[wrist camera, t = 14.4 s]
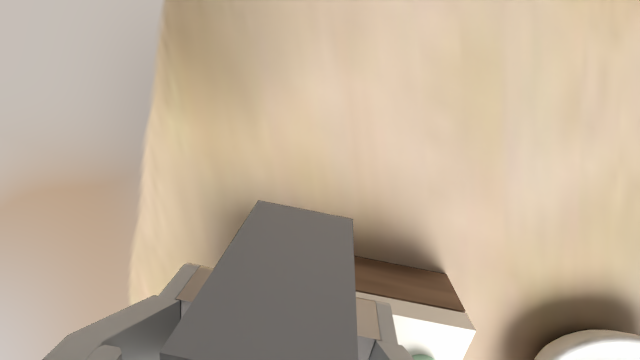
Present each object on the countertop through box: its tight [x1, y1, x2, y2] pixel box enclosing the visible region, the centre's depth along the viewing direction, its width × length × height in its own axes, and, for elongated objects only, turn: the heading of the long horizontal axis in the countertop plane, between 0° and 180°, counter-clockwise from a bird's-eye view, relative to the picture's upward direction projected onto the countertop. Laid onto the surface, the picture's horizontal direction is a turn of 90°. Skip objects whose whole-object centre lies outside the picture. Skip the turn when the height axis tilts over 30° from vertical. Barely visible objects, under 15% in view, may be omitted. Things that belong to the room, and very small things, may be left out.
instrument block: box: [159, 200, 358, 360], centre depth 9 cm, size 4×4×9 cm
